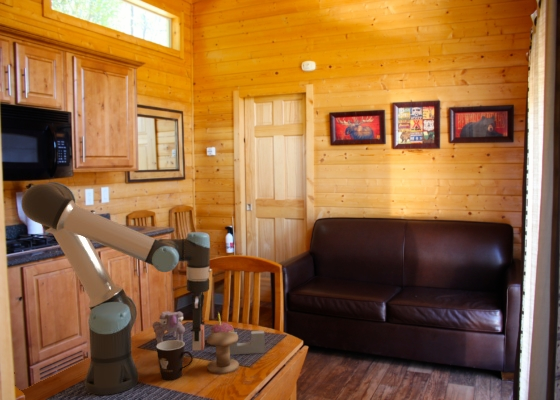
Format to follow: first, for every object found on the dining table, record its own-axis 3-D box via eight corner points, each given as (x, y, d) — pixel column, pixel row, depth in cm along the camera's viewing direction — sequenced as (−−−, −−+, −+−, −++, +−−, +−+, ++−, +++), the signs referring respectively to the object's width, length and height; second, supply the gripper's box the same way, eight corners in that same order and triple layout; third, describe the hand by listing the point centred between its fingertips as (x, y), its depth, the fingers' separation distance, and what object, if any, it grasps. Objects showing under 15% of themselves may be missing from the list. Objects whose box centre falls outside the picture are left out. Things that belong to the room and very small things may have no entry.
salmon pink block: (192, 350, 162) (192, 330, 162) (194, 345, 167) (193, 325, 167) (203, 350, 163) (203, 329, 162) (204, 345, 168) (204, 325, 167)
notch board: (224, 354, 169) (223, 334, 168) (224, 352, 171) (224, 332, 171) (264, 352, 170) (264, 333, 169) (264, 350, 172) (264, 330, 172)
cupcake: (224, 348, 175) (223, 315, 174) (206, 343, 179) (205, 311, 179) (238, 340, 182) (238, 309, 181) (220, 336, 187) (220, 306, 186)
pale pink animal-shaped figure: (192, 352, 172) (189, 314, 170) (162, 358, 167) (158, 320, 166) (179, 334, 190) (177, 300, 189) (152, 340, 185) (149, 305, 184)
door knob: (206, 374, 153) (205, 343, 152) (208, 362, 163) (207, 332, 162) (238, 373, 153) (238, 342, 153) (238, 360, 163) (238, 331, 163)
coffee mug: (152, 375, 152) (151, 344, 152) (177, 368, 158) (176, 338, 157) (170, 388, 144) (169, 355, 143) (195, 379, 149) (194, 347, 148)
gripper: (207, 285, 155) (207, 356, 156) (210, 272, 173) (210, 337, 174) (183, 285, 154) (183, 357, 156) (189, 272, 172) (188, 337, 174)
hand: (197, 346), depth 165 cm, fingers closed on salmon pink block, 5 cm apart
